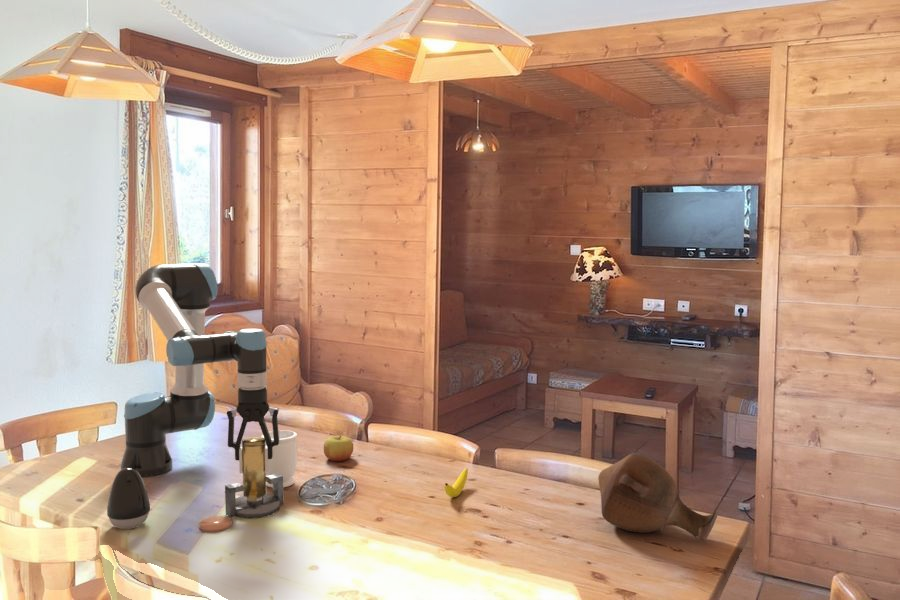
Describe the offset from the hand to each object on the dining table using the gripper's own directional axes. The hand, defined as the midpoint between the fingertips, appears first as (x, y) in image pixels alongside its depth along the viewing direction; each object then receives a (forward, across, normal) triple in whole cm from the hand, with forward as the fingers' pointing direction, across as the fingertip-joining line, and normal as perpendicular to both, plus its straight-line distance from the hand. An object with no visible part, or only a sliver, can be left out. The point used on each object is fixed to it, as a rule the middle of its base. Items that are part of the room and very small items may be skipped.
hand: (254, 470), depth 211 cm
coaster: (+11, -9, -10) cm, 17 cm away
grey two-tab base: (+11, 0, 0) cm, 11 cm away
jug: (+11, +102, -30) cm, 106 cm away
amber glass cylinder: (+6, 0, 0) cm, 6 cm away
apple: (+11, +23, +41) cm, 48 cm away
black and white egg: (+11, -31, -7) cm, 33 cm away
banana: (+11, +56, +4) cm, 57 cm away
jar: (+11, +5, +20) cm, 23 cm away
